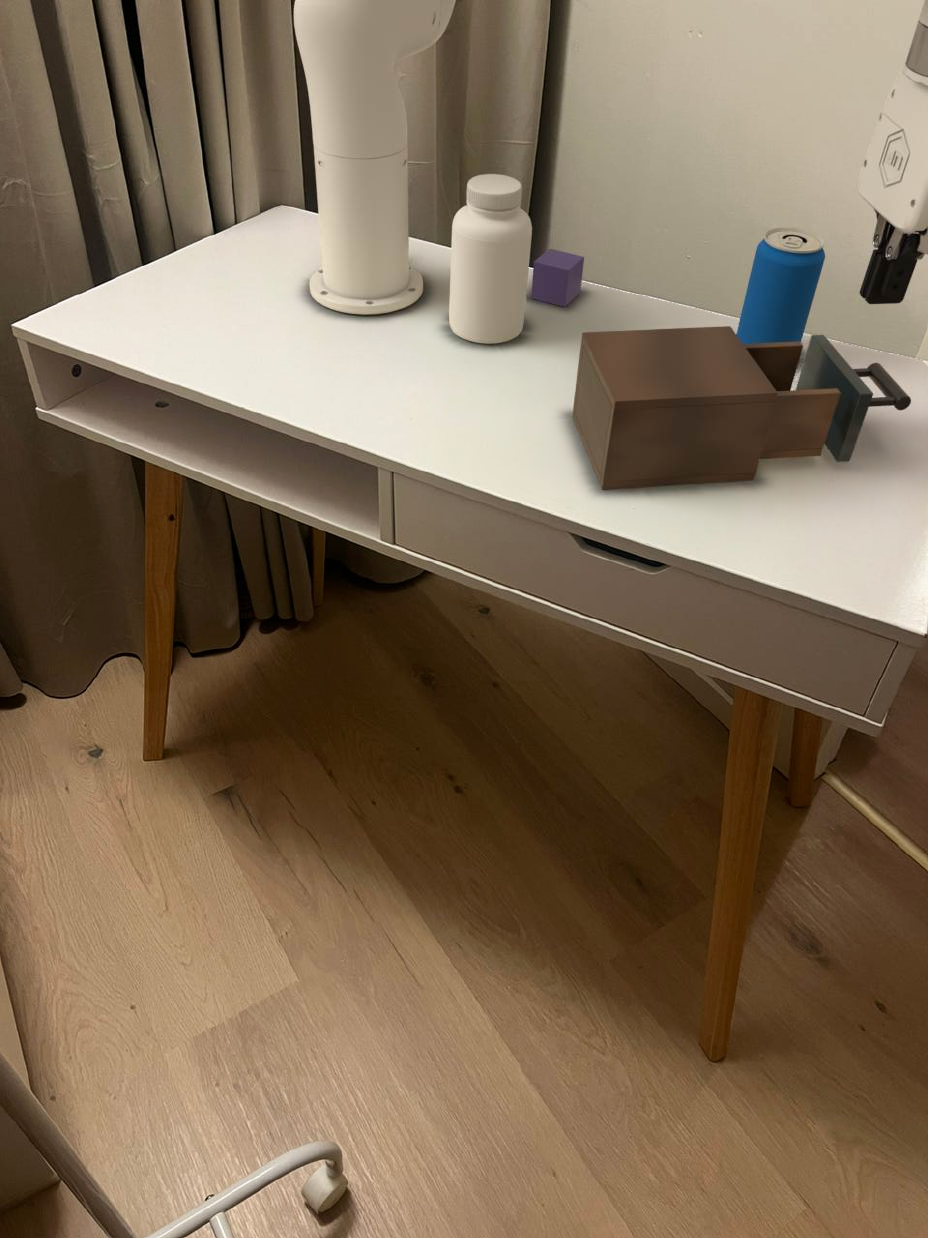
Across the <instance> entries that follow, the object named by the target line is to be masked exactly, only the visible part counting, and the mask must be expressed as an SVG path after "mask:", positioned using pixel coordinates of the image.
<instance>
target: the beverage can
mask: <svg viewBox="0 0 928 1238" xmlns="http://www.w3.org/2000/svg"><path fill="white" fill-rule="evenodd" d="M824 246H825V241H824V239H823V237H821V236H820V235H819V234H817V233H815V232H812V231H810V230H808V229H804V228H798V227H792V226H791V227H789V226H787V227H786V226H785V227H784V226H782V227H774V228H771V229H769V230H767V231H766V232H765V233H764V235H763V239H762V240H761V241H760V242H759V243H758V244H757V246H756V250H755V254H754V258H753V262H752V267H751V271H750V274H749V279H748V282H747V288H746V291H745V295H744V300H743V304H742V309H741V312H740V317H739V322H738V326H737V330H736V333H735V334H736V335H737V337H738V338H739V339H740V341H741V342H742V344H754V343H776V342H799V341H800V342H801V343H802V340H803V337H804V334H805V330H806V326H807V322H808V319H809V315H810V312H811V309H812V305H813V301H814V299H815V294H816V292H817V289H818V288H817V287H818V284H819V280H820V277H821V274H822V269H823V266H824V262H825V260H826V252H825V250H824V248H823V247H824Z"/></svg>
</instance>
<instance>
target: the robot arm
mask: <svg viewBox="0 0 928 1238" xmlns="http://www.w3.org/2000/svg"><path fill="white" fill-rule="evenodd" d="M456 1H457V0H294V5H293V27H294V32H295V38H296V42H297V47H298V50H299V54H300V58H301V62H302V66H303V70H304V76H305V80H306V86H307V92H308V100H309V109H310V118H311V130H312V131H311V132H312V144H313V155H314V157H313V158H314V169H315V171H314V172H315V184H316V194H317V195H316V197H317V212H318V226H319V239H320V240H319V241H320V251H321V252H320V254H321V265H322V266H320V267H319V268H317V269H316V270H315V271H314V272H313V273H312V275H311V276H310V278H309V293H310V295H311V297H312V298H313V299H314V300H315V301H316V302H318V303H319V304H320V305H322V306H323V307H325V308H328V309H330V310H333V311H336V312H340V313H346V314H351V315H379V314H380V315H381V314H386V313H387V314H388V313H391V312H395V311H396V312H397V311H399V310H403V309H405V308H407V307H409V306H411V305H413V304H414V303H415V302H417V301H418V300H419V299H420V297H421V296H422V294H423V293H424V279H423V276H422V275H421V274H420V272H419V271H418V270H416V269H415V268H414V267H412V266H411V265H410V248H409V247H410V241H409V238H410V237H409V232H410V231H409V156H408V155H409V151H408V150H409V149H408V148H409V147H408V143H409V142H408V141H409V140H408V120H407V119H408V118H407V117H408V116H407V111H406V105H405V102H404V98H403V94H402V92H401V89H400V87H399V83H398V80H397V76H396V72H395V64H397V63H398V62H400V61H402V60H404V59H407V58H409V57H411V56H414V55H416V54H419V53H421V52H424V51H425V50H427V49H429V48H430V47H432V46H433V45H434V44H435V43H436V42H437V41H439V39H440V38H441V37H442V35H443V34H444V33H445V31H446V29H447V27H448V25H449V23H450V20H451V17H452V15H453V11H454V8H455V4H456ZM856 187H857V191H858V193H859V195H860V197H862V199H863V200H864V201H865V202H866V203H867V204H868V205H869V206H870V207H872V209H873V211H874V212H875V214H876V215H875V217H876V225H875V228H874V232H873V237H872V246H873V248H874V249H873V250H872V253H871V256H870V259H869V262H868V265H867V268H866V271H865V274H864V277H863V280H862V284H861V285H860V286H861V287H860V289H859V295H860V296H861V297H862V298H863V299H864V301H865V302H866V303H867V304H868V305H894V304H896V305H897V304H900V303H902V302H903V301H904V299H905V296H906V293H907V291H908V288H909V285H910V282H911V280H912V277H913V274H914V271H915V268H916V266H917V263H918V261H919V260H922V259H923V258H924V256H925V255H928V0H924V1H923V4H922V8H921V12H920V14H919V17H918V21H917V24H916V27H915V29H914V33H913V37H912V39H911V43H910V46H909V49H908V52H907V56H906V59H905V62H903V64H902V66H901V68H900V70H899V71H898V73H897V76H896V77H895V79H894V82H893V83H892V86H891V88H890V90H889V92H888V95H887V97H886V99H885V102H884V104H883V106H882V109H881V112H880V114H879V117H878V119H877V122H876V125H875V128H874V130H873V133H872V135H871V138H870V141H869V144H868V146H867V149H866V153H865V155H864V158H863V161H862V165H861V169H860V171H859V174H858V178H857V182H856Z"/></svg>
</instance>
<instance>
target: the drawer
mask: <svg viewBox="0 0 928 1238" xmlns="http://www.w3.org/2000/svg"><path fill="white" fill-rule="evenodd" d="M743 345H744V346H745V348H746V349H747V351H748V352H749V353H750V355H751V356H752V358H753V359H754V360H755V362H756V363H757V365H758V366H759V367H760V369H761V370H762V372H763V373H764V374H765V376H766V377H767V379H768V380H769V381H770V383H771V384H772V386H773V387H774V388H775V390H776V391H777V393H778V394H777V398H776V401H775V405H774V408H773V412H772V416H771V419H770V423H769V426H768V430H767V434H766V437H765V441H764V445H763V448H762V452H761V455H760V459H759V460H771V459H772V460H776V459H791V458H793V459H794V458H809V457H821V456H822V453H823V450H824V447H826V449H827V450H828V452H829V453H830V454H831V456H832V457H833V458H834V460H835V461H836V463H847V462H851V459H852V456H853V454H854V450H855V448H856V445H857V442H858V439H859V436H860V433H861V431H862V428H863V425H864V422H865V419H866V417H867V413H868V410H869V408H874V407H889V406H892V407H894V408H895V409H896V410H898V411H904V410H906V409H908V408H909V407H910V405H911V404H912V398H911V397H910V396H909V395H908V394H907V392H906V391H905V390H904V389H903V388H902V386H901V385H899V383H898V382H897V381H896V380H895V379H894V378H893V377H892V375H891V374H889V372H888V371H887V370H886V369H885V368H884V367H883V366H882V364H881V363H880V362H873V363H870V364H869V365H868V366H867V367H861V368H852V367H851V365H850V364H849V363H848V361H846V359H845V357H843V356H842V354H841V353H840V352H839V351H838V350H837V349H836V347H834V345H833V344H832V343H831V341H830V340H829V339H828V338H827V337H826V336H825V334H812V335H811V336H810V339H809V341H808V346H807V350H806V352H805V353H806V354H805V357H804V360H803V364H802V367H801V370H800V373H799V377H798V380H797V384H796V386H795V387H796V388H795V390H792V387H793V382H794V379H795V376H796V372H797V368H798V365H799V361H800V359H801V355H802V351H803V348H804V345H803V344H802V341H801V342H800V341H799V342H776V343H754V344H743ZM862 378H869V379H870V380H871V382H872V383H873V384H874V385H875V386H876V387H877V388H878V390H879V391H880V392H881V393H882V394H883V395H884V396H880V397H878V396H877V397H873V396H874V393H873V391H872V390H871V389H870V387H868V385H867V384H866V383H865V382H864V380H863V379H862Z"/></svg>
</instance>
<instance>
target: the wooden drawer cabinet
mask: <svg viewBox="0 0 928 1238" xmlns="http://www.w3.org/2000/svg"><path fill="white" fill-rule="evenodd" d="M736 334H737V333H736V332H735V331H734V330H733V328H732V327H731V326H730V325H724V326H702V327H701V326H700V327H699V326H698V327H676V328H655V329H653V328H652V329H632V330H607V331H605V330H604V331H585V332H584V331H583V332H581V338H580V348H579V357H578V365H577V373H576V380H575V390H574V398H573V406H572V407H573V408H572V416H571V417H572V420H573V422H574V425H575V428H576V429H577V432H578V435H579V437H580V440H581V441H582V444H583V447H584V449H585V451H586V454H587V456H588V459H589V461H590V464H591V466H592V468H593V471H594V473H595V476H596V479H597V481H598V483H599V486H600V488H601V490H617V489H631V488H633V489H634V488H648V487H663V486H679V485H680V486H681V485H697V484H710V483H711V484H712V483H713V484H714V483H729V482H743V481H744V482H746V481H754V480H755V476H756V472H757V470H758V466H759V462H760V460H761V459H760V455H761V452H762V448H763V445H764V441H765V437H766V434H767V430H768V426H769V423H770V419H771V416H772V412H773V408H774V405H775V401H776V398H777V394H778V393H777V391H776V390H775V388H774V387H773V386H772V384H771V383H770V381H769V380H768V379H767V377H766V376H765V374H764V373H763V372H762V370H761V369H760V367H759V366H758V365H757V363H756V362H755V360H754V359H753V358H752V356H751V355H750V353H749V352H748V351H747V349H746V348H745V346H744V345H743V344H742V342H741V341H740V339H739V338H738V337H737V335H736Z"/></svg>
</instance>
